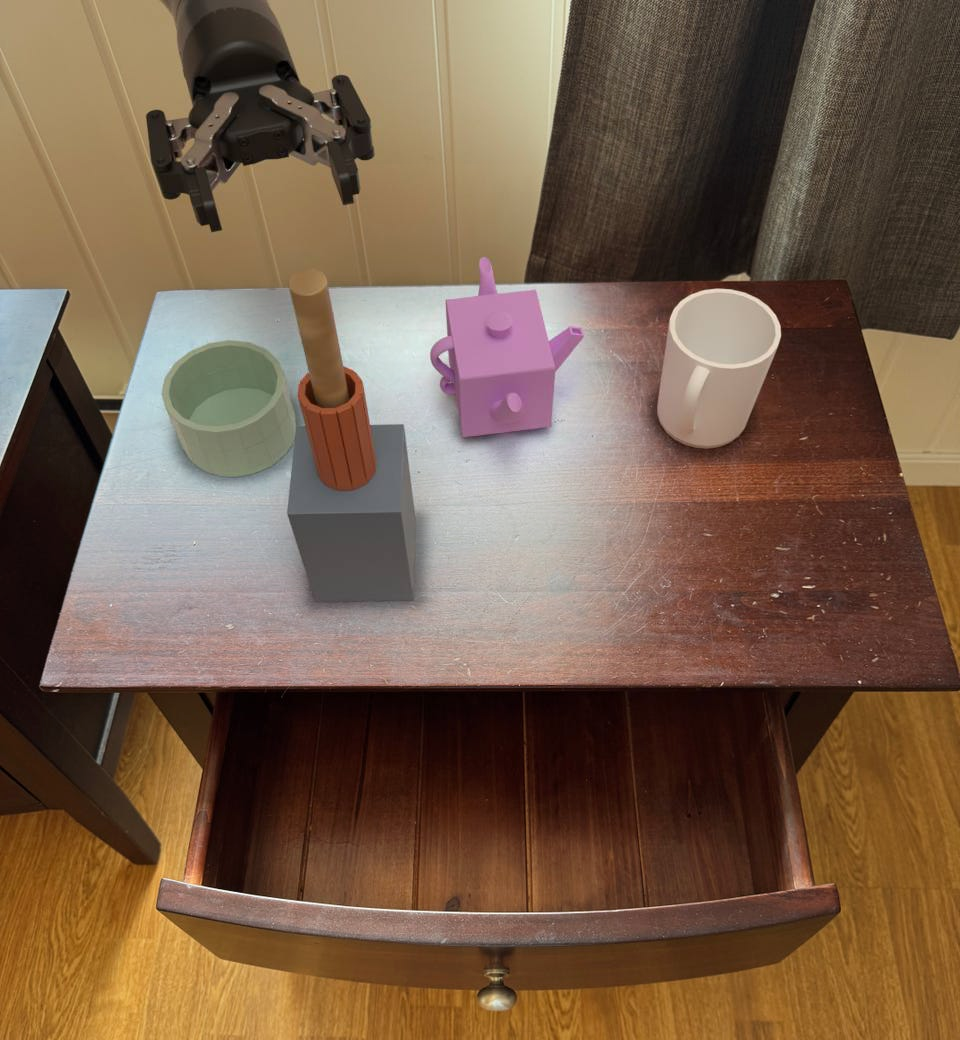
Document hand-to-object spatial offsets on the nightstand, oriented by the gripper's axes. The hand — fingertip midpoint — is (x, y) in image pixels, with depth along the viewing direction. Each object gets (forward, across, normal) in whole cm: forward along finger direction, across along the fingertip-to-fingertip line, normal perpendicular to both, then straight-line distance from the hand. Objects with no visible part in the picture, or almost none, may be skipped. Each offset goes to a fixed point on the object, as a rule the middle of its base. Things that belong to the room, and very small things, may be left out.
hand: (281, 205), depth 61 cm
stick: (+9, 0, +14) cm, 17 cm away
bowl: (-8, -8, +27) cm, 29 cm away
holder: (+9, 0, +27) cm, 28 cm away
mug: (+4, +32, +27) cm, 42 cm away
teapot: (-4, +16, +27) cm, 32 cm away
